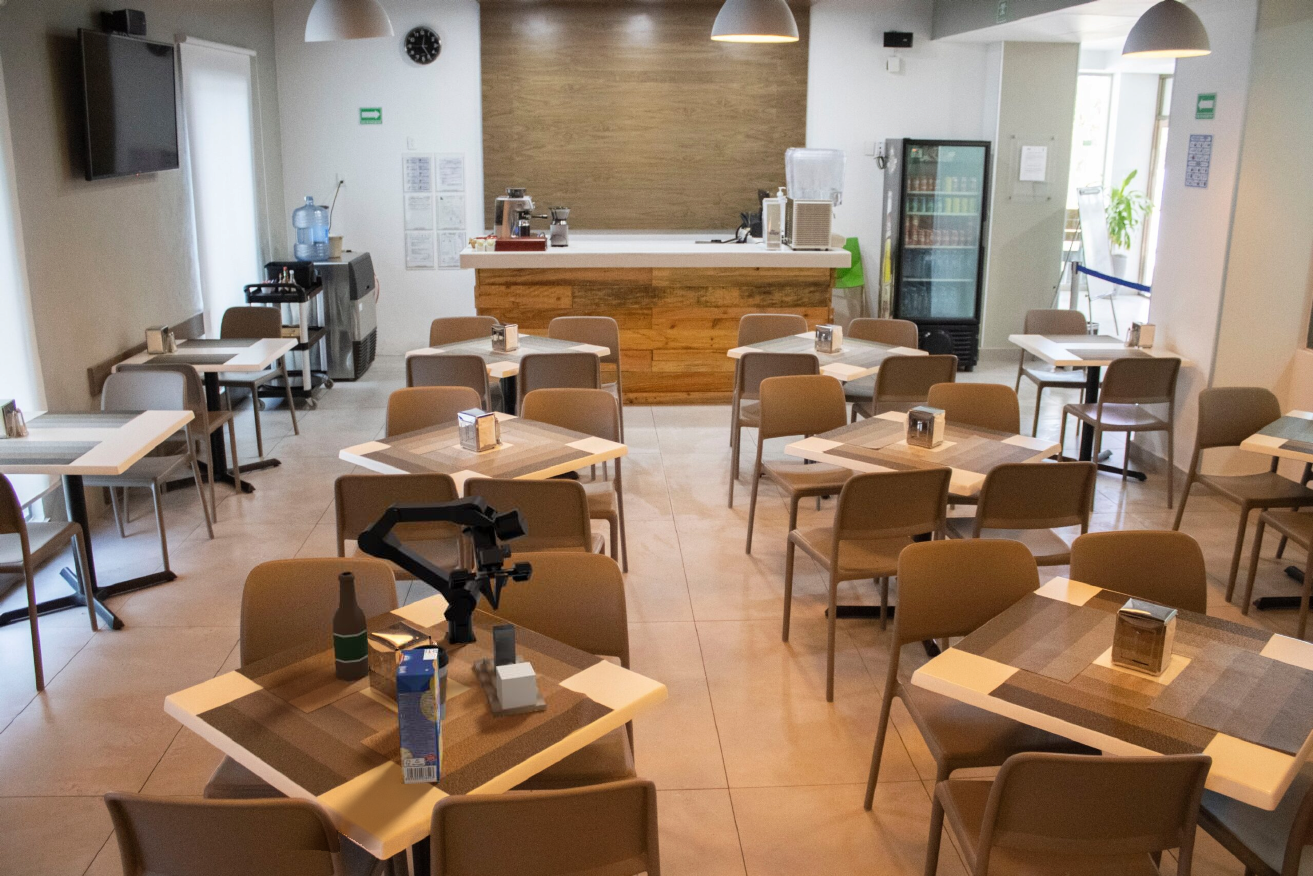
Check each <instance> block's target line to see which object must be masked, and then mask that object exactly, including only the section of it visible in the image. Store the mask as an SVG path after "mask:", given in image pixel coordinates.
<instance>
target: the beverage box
mask: <svg viewBox="0 0 1313 876" xmlns="http://www.w3.org/2000/svg"><path fill="white" fill-rule="evenodd" d="M412 649H413V648H412ZM412 649H401V651H400V655H399V660H398V661H399V662H398V665H397V671H396V675H395V682H396V699H397V700H396V701H397V712H398V713H397V714H398V716H397V717H398V718H397V719H398V732H399V733H398V734H399V735H398V736H399V750H400V751H399V752H400V767H401V769H400V770H401V784H402V785H404V784H406V785H407V784H419V783H422V784H423V783H434V782H436V783H437V782H440V780H441V774H442V773H441V772H442V771H441V770H442V762H443V753H444V749H443V728H442V726H443V725H442V720H441V702H440V681H439V660H438V648H433V649H413V650H412Z"/></svg>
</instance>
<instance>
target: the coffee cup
mask: <svg viewBox="0 0 1313 876" xmlns="http://www.w3.org/2000/svg"><path fill="white" fill-rule="evenodd" d="M433 648H438V660H439V681H440V702H441V721H443V720H444V719H445V718H446V708H447V707H446V703H447V702H446V701H447V689H448V687H447V686H448V674H449V673H448V664H449V662H450V659H449V655H448V652H447V648H446V647H444V646H442V645H438V644H437V645H436V644H422V645H419V646H415V647H413V648H411V650H413V649H433Z"/></svg>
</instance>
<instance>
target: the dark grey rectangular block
mask: <svg viewBox="0 0 1313 876" xmlns="http://www.w3.org/2000/svg"><path fill="white" fill-rule="evenodd" d="M492 641H493V642H492V647H493V658H494V672H495V675H496V667H497V666H504V665H511V664H516V655H517V654H516V628H515V626H514V624H513V623H510V624H502V625H500V624H499V625H494V626H492Z"/></svg>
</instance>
